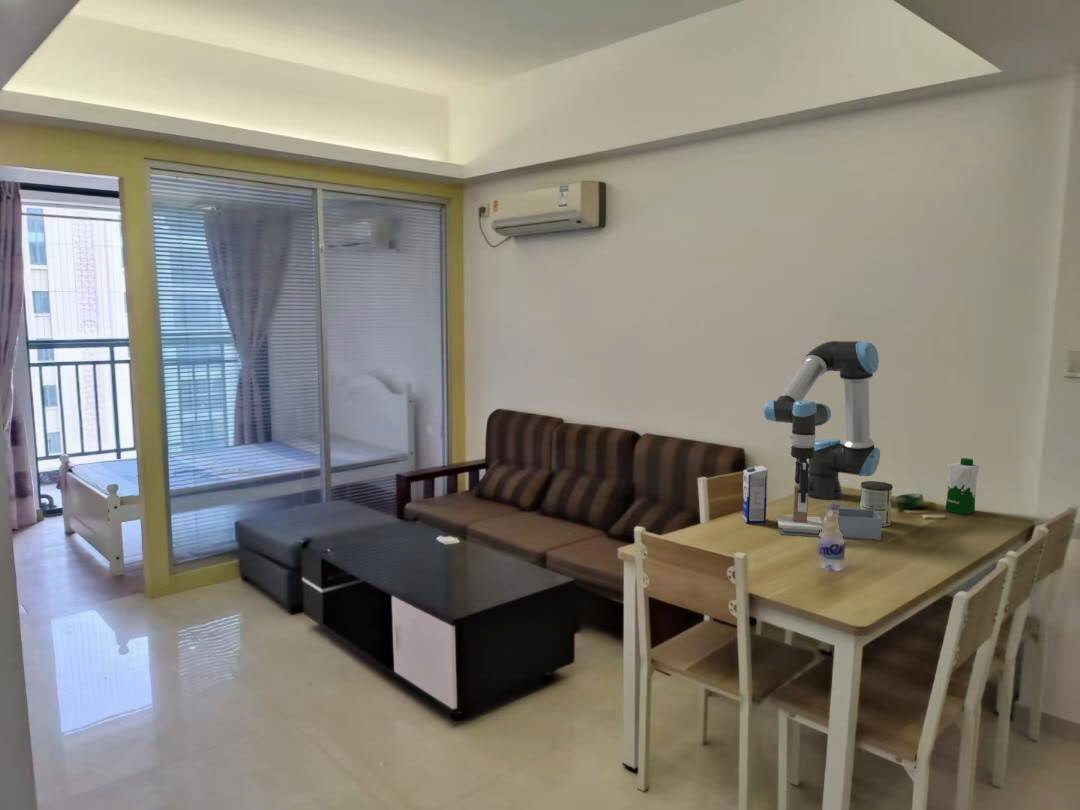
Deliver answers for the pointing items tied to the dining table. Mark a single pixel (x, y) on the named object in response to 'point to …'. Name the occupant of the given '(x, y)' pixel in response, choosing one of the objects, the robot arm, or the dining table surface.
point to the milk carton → (754, 495)
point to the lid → (799, 519)
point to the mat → (797, 533)
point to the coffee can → (877, 499)
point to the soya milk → (961, 487)
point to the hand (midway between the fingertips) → (800, 506)
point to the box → (859, 523)
